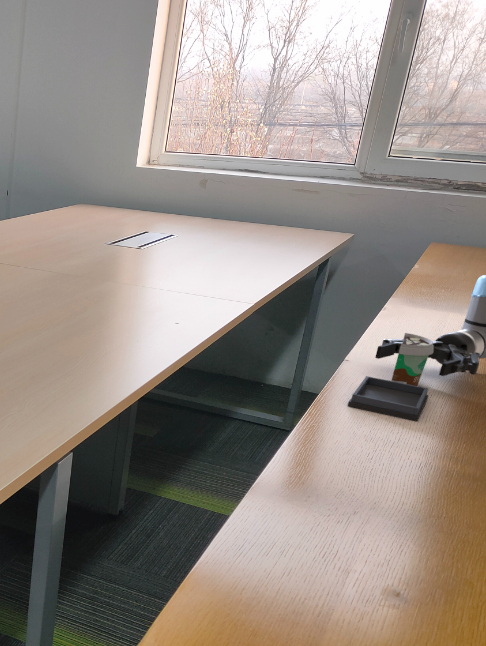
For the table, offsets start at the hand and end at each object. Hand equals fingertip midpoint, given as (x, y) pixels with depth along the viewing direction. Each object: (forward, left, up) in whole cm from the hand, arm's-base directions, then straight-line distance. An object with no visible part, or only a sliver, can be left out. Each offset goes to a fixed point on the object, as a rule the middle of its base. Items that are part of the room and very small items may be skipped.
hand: (409, 360), depth 172 cm
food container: (-1, -2, -6) cm, 6 cm away
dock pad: (+1, +15, -6) cm, 16 cm away
